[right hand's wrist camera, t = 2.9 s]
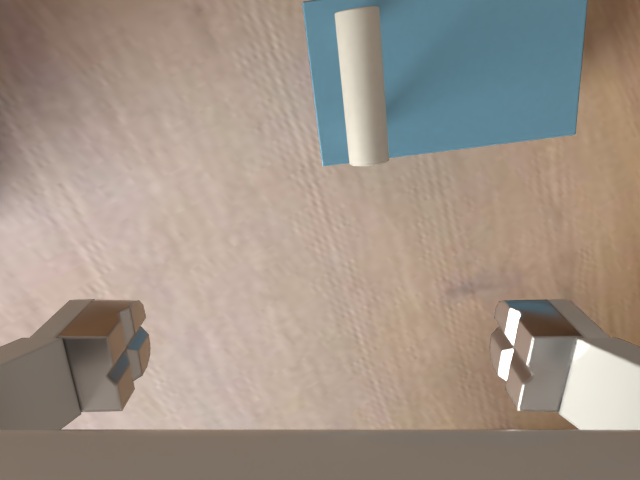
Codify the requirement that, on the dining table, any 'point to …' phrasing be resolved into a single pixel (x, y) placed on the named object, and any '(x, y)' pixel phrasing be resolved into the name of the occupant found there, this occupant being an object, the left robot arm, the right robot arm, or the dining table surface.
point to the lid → (441, 74)
